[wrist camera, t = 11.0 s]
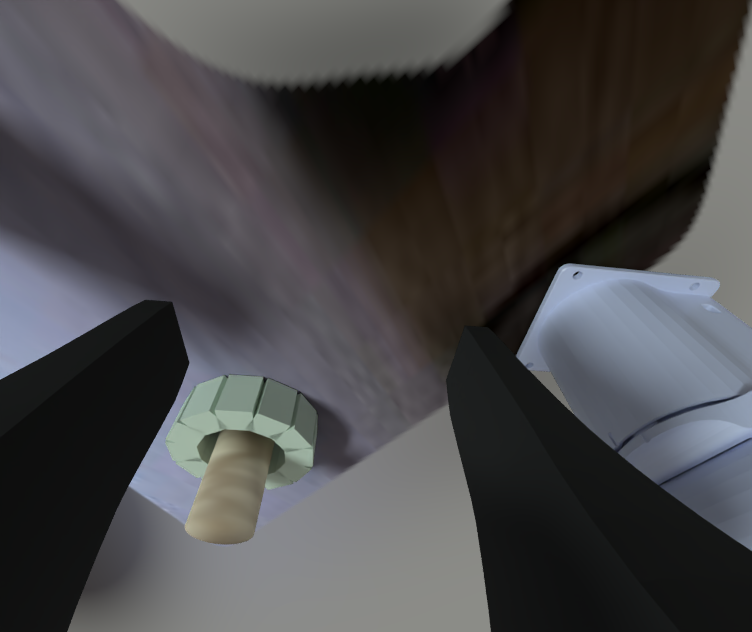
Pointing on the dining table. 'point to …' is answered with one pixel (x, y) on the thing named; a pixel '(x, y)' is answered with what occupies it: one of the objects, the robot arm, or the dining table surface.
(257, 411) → the pale green segmented ring
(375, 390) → the dining table surface
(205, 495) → the beige cylinder
